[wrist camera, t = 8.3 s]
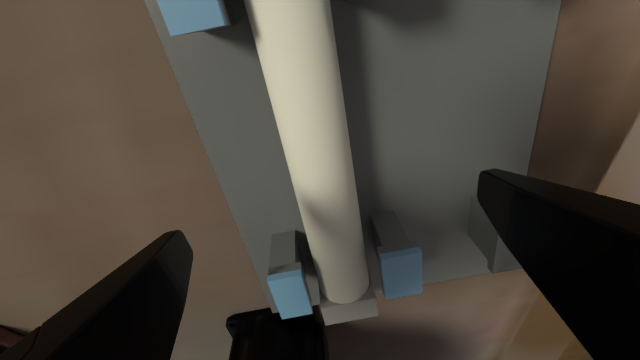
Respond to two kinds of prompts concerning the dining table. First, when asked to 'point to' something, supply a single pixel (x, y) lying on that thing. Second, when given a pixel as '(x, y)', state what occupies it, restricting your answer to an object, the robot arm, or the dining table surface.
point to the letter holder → (8, 338)
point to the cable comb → (374, 131)
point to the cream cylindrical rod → (316, 146)
